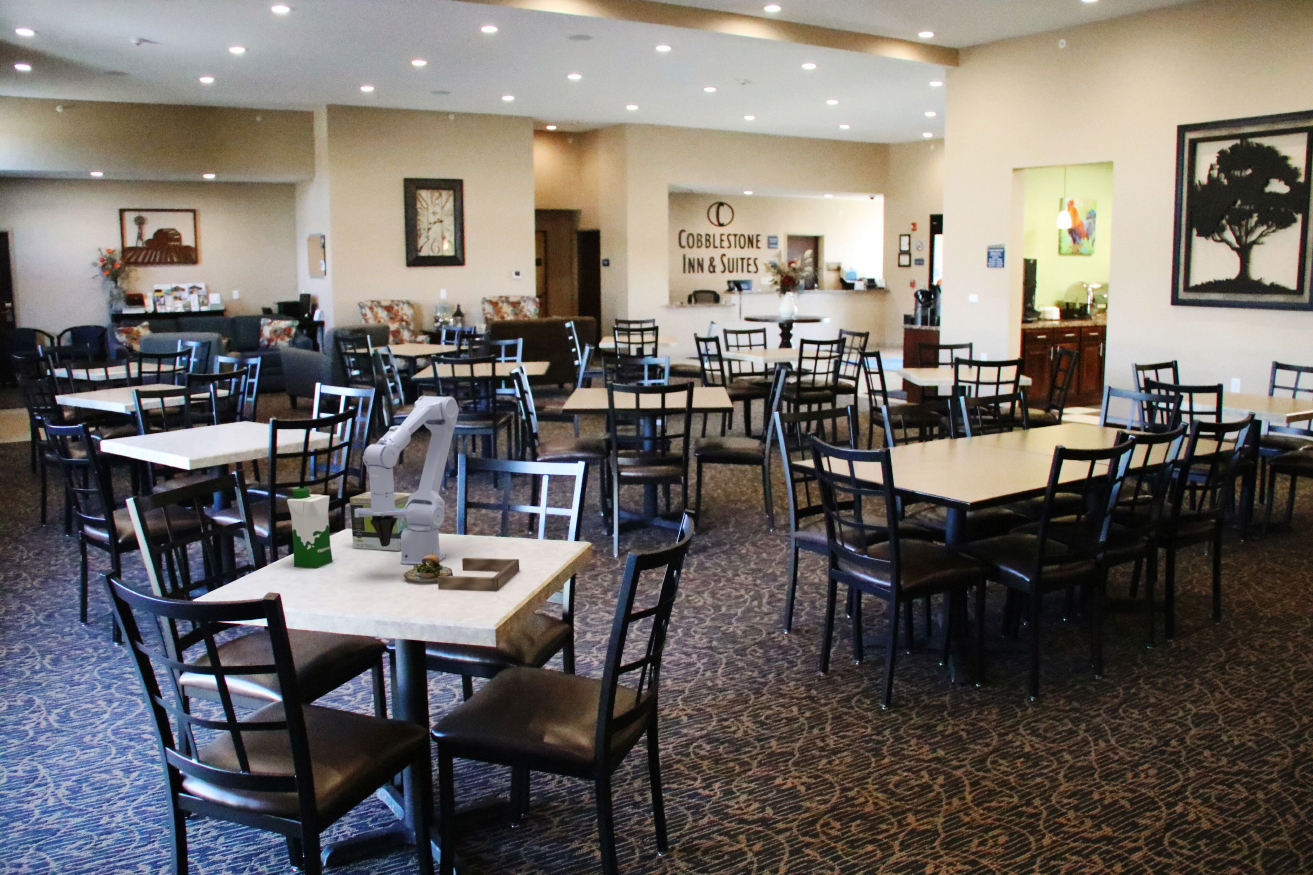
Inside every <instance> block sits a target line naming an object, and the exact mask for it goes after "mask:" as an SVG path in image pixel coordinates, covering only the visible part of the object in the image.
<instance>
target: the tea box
mask: <svg viewBox="0 0 1313 875" xmlns="http://www.w3.org/2000/svg"><path fill="white" fill-rule="evenodd" d="M413 493H414V492H395V491H394V496H395V508H402V509H404V507H405V505H406V504H407V502H408V499H409V496H410V495H412V494H413ZM349 505H350V519H351V533H352V536H351V537H352V545H353V546H352V547H353V549H363V550H364V549H365V550H379V551H395V552H400V551H401V534H402V531H403V530H404V529H405V528H408V525H406V524H405V522H404V520H403V518H397V521H396V523H395V525H394V528H393V531H392V534H391V539H390V545H388V546H386V547H384V546H381V543H380V540H379V537H378V535H377V532H376V530H375V529H374V527H373V526H372V524H371V522H370V521H371V520H372V517H355V509H357V508H371V493H370V491H367V492H363V493H361V494H358V495H355V496H351V497H349Z"/></svg>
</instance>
